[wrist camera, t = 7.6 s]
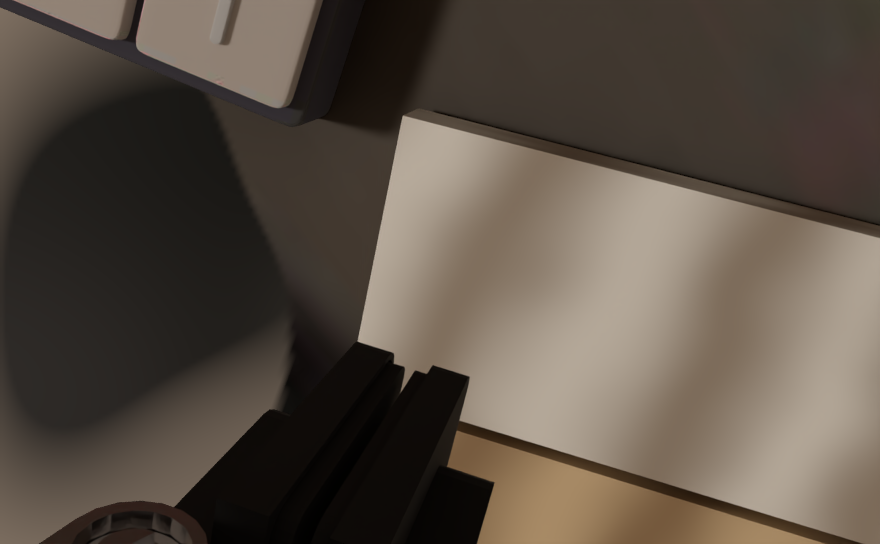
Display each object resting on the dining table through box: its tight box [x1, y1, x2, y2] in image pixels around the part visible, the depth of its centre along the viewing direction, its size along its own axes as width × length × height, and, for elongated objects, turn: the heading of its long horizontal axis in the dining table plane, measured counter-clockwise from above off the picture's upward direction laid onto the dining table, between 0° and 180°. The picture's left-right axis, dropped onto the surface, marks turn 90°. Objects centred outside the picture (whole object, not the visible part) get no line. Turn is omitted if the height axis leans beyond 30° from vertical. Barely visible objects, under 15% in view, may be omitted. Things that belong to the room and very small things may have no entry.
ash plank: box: [358, 109, 880, 544], centre depth 23 cm, size 22×9×2 cm, turn 77°
